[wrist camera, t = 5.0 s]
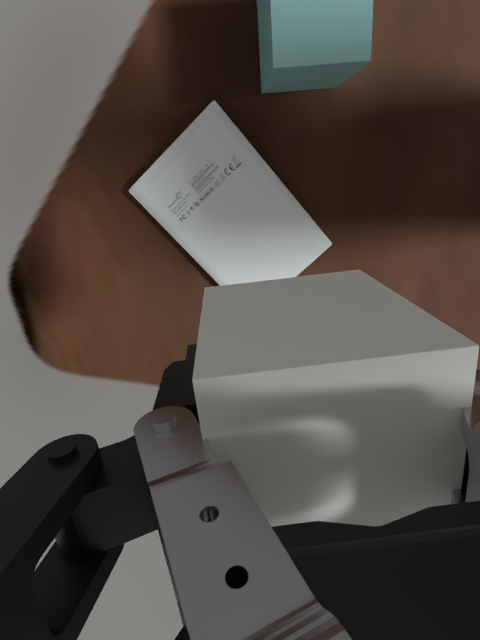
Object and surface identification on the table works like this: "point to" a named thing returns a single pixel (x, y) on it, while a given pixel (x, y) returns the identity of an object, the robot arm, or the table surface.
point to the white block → (333, 397)
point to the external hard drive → (228, 205)
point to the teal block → (312, 42)
